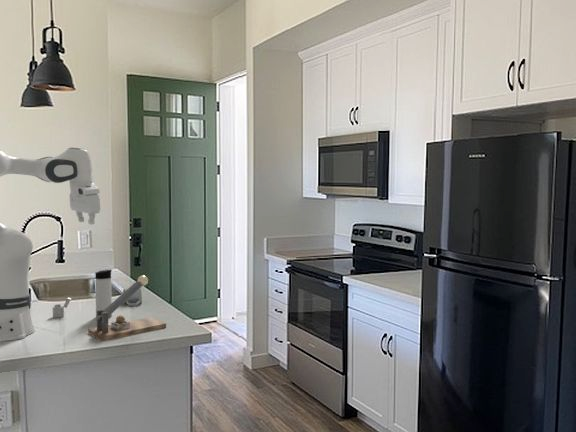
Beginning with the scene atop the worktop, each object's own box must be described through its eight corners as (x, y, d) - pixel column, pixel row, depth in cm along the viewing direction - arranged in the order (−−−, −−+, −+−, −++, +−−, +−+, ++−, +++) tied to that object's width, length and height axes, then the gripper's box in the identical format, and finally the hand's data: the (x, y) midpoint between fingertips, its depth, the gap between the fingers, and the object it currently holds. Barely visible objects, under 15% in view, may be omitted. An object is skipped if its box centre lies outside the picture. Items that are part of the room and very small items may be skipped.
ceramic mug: (122, 301, 246) (122, 285, 246) (140, 300, 249) (140, 284, 249) (124, 307, 237) (124, 290, 236) (143, 306, 239) (142, 289, 239)
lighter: (52, 317, 218) (52, 298, 217) (53, 316, 219) (52, 298, 219) (71, 316, 220) (70, 297, 219) (71, 315, 222) (71, 296, 221)
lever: (104, 324, 193) (98, 316, 191) (100, 322, 196) (93, 314, 194) (151, 281, 205) (146, 274, 203) (146, 280, 208) (141, 272, 206)
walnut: (118, 325, 197) (118, 317, 197) (114, 323, 199) (114, 315, 199) (126, 324, 199) (126, 315, 199) (122, 322, 201) (122, 314, 201)
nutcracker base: (101, 340, 188) (101, 316, 187) (88, 333, 197) (87, 309, 196) (166, 327, 206) (165, 304, 205) (151, 320, 214) (151, 299, 214)
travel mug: (107, 319, 216) (106, 271, 214) (93, 318, 217) (92, 270, 216) (115, 315, 222) (114, 268, 220) (101, 314, 223) (100, 268, 222)
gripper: (63, 188, 212) (68, 221, 215) (85, 191, 198) (89, 226, 200) (79, 186, 217) (83, 219, 219) (101, 189, 202) (105, 224, 205)
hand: (86, 222), depth 209 cm, fingers open, 8 cm apart
